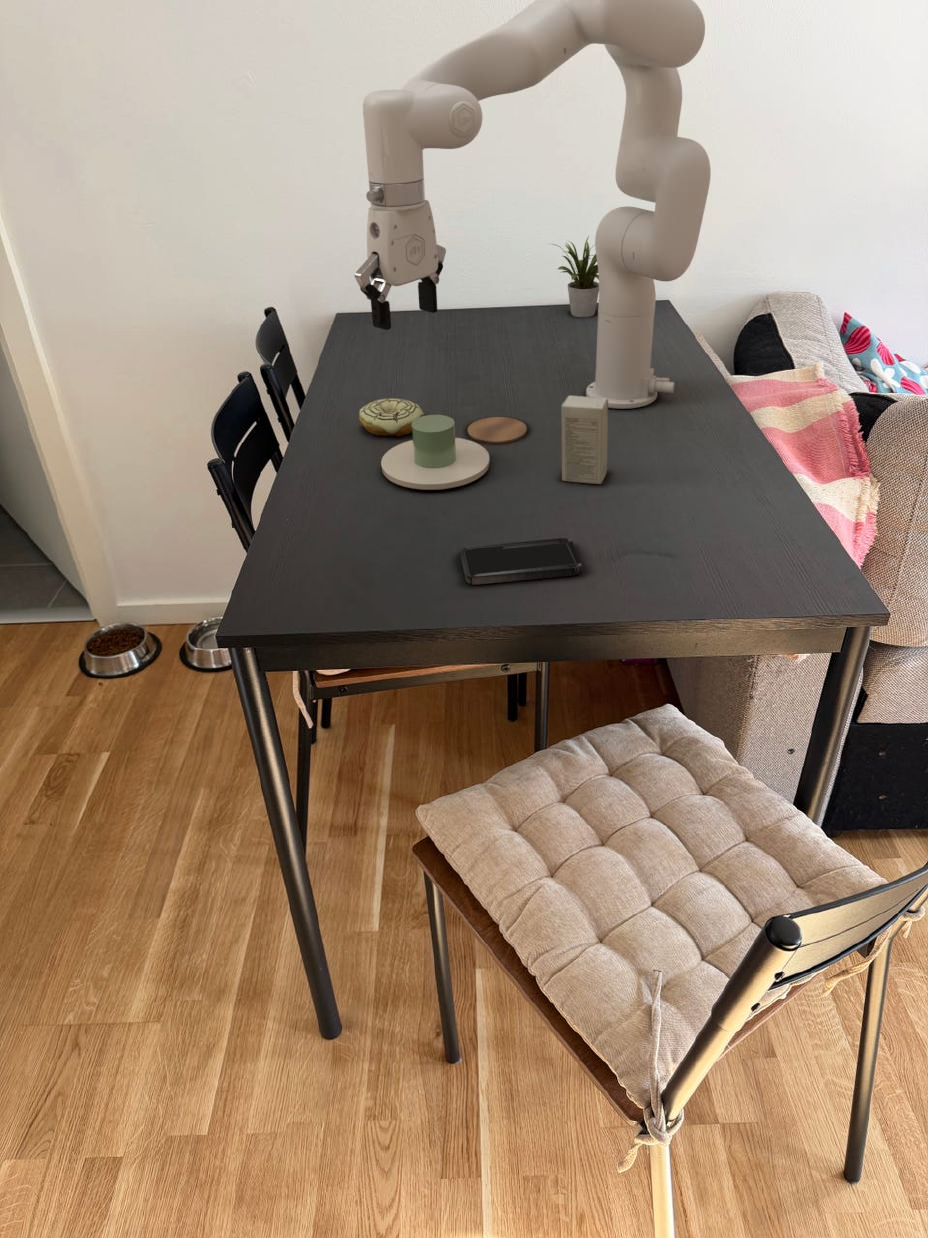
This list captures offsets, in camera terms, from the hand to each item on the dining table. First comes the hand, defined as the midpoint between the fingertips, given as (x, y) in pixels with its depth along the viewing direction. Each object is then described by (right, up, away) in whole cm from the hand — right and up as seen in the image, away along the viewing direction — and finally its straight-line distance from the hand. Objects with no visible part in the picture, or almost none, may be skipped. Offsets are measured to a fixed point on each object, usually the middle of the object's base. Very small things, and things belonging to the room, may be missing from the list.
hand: (405, 319), depth 139 cm
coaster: (+14, -12, +21) cm, 28 cm away
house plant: (+34, +23, +70) cm, 81 cm away
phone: (+16, -37, -14) cm, 43 cm away
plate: (+4, -20, +10) cm, 23 cm away
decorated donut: (-4, -11, +24) cm, 27 cm away
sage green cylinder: (+4, -19, +9) cm, 21 cm away
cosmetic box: (+27, -23, +6) cm, 36 cm away
